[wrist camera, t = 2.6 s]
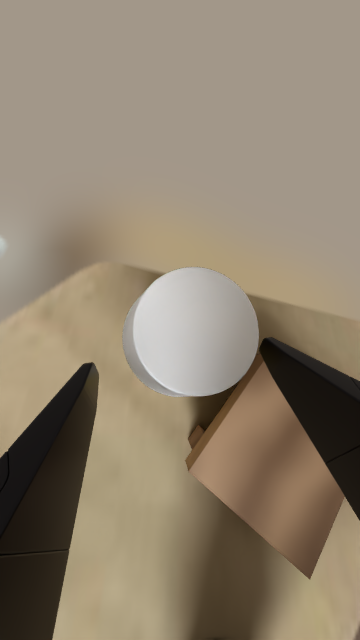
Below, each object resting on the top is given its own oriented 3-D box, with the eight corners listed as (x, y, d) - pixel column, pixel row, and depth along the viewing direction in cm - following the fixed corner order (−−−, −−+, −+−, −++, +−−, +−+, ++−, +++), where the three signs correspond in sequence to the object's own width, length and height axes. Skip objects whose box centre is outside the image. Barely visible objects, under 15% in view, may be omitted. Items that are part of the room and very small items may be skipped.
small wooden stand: (325, 416, 19) (370, 433, 15) (270, 522, 16) (309, 579, 12) (248, 345, 18) (274, 345, 15) (179, 440, 16) (188, 471, 12)
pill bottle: (202, 367, 17) (301, 404, 6) (140, 379, 16) (114, 456, 5) (192, 307, 18) (260, 241, 7) (132, 314, 17) (94, 247, 6)
